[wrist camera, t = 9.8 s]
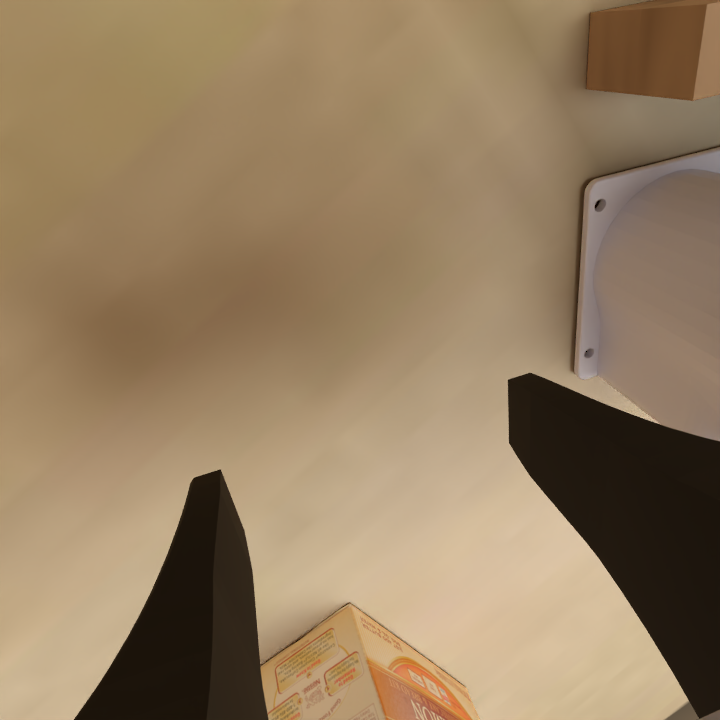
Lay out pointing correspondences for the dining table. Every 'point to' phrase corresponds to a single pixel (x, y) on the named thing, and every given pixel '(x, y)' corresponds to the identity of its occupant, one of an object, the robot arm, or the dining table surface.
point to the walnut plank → (656, 49)
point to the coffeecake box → (359, 677)
